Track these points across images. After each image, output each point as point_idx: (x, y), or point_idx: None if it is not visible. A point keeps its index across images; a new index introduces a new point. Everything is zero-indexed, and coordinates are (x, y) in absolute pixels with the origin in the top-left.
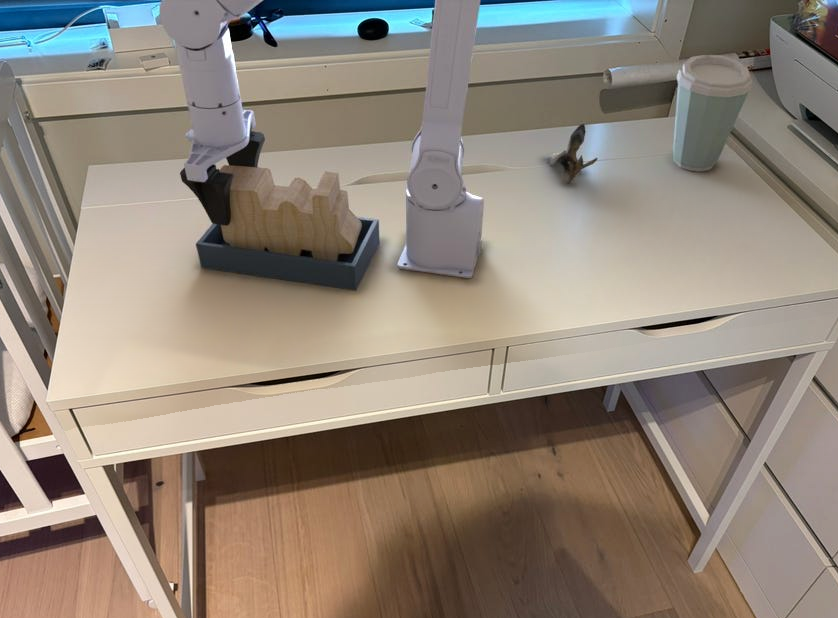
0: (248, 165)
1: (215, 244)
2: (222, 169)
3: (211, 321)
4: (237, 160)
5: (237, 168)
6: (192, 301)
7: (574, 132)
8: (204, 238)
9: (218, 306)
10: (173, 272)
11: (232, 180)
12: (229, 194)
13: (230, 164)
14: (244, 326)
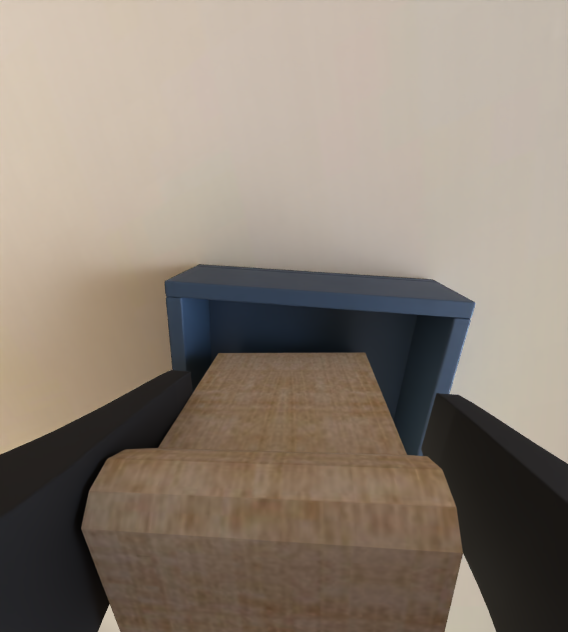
0: (508, 611)
1: (181, 341)
2: (382, 551)
3: (40, 353)
4: (562, 597)
5: (403, 628)
6: (77, 293)
7: None
8: (202, 297)
9: (86, 351)
10: (160, 196)
11: (229, 623)
12: (106, 601)
13: (553, 503)
14: (56, 412)
